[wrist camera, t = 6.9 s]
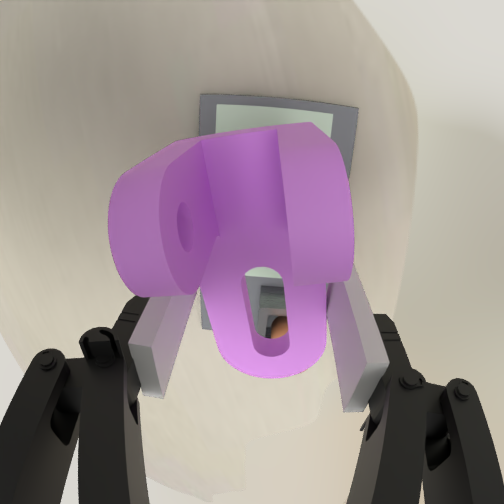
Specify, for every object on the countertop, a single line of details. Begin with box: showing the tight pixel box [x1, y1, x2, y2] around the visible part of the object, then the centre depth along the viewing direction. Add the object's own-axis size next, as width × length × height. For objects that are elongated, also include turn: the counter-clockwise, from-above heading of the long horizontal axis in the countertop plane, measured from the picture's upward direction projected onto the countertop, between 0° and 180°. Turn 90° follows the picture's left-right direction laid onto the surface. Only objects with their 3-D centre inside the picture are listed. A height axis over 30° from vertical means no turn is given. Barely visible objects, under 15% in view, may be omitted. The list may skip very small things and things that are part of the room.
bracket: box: [108, 122, 354, 378], centre depth 12 cm, size 13×6×7 cm, turn 8°
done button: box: [271, 316, 307, 373], centre depth 25 cm, size 3×3×4 cm
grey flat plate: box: [199, 94, 359, 331], centre depth 25 cm, size 21×11×1 cm, turn 177°
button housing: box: [256, 285, 327, 339], centre depth 27 cm, size 6×6×3 cm
